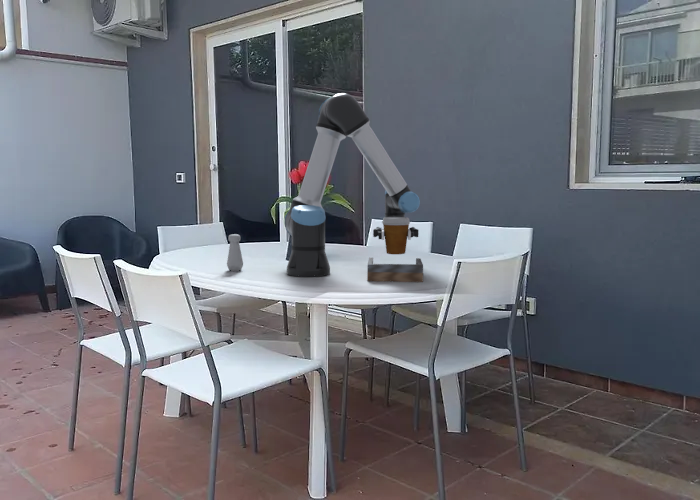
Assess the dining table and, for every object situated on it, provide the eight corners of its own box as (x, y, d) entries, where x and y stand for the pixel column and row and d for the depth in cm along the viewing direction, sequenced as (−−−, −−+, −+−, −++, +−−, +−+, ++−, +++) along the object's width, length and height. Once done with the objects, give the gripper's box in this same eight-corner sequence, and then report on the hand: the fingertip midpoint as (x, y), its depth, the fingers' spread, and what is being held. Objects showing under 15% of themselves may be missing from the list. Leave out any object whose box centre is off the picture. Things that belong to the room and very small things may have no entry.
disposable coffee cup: (408, 255, 197) (408, 219, 196) (379, 254, 199) (379, 218, 198) (411, 251, 207) (411, 216, 205) (384, 251, 209) (384, 216, 207)
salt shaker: (246, 269, 217) (246, 234, 215) (237, 272, 212) (236, 235, 210) (233, 268, 219) (232, 233, 218) (223, 271, 214) (222, 234, 212)
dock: (367, 281, 196) (367, 264, 195) (368, 273, 212) (368, 257, 211) (422, 282, 195) (423, 265, 194) (420, 273, 211) (420, 258, 210)
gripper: (423, 239, 220) (428, 247, 197) (366, 239, 221) (364, 246, 199) (423, 218, 219) (428, 224, 196) (366, 218, 220) (364, 224, 198)
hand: (396, 235), depth 197 cm, fingers closed on disposable coffee cup, 8 cm apart
